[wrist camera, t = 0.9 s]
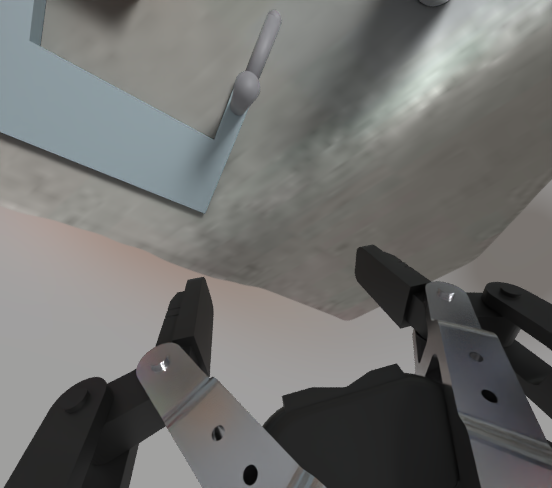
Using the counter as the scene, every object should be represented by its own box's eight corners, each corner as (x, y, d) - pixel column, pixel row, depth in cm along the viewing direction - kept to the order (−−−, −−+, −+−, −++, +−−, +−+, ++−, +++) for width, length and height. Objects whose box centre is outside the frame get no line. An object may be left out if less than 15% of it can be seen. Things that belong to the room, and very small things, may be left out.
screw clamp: (21, -108, 19) (-311, -515, 7) (264, 69, 28) (294, 17, 16) (0, 127, 25) (-201, 117, 13) (205, 210, 34) (196, 249, 22)
